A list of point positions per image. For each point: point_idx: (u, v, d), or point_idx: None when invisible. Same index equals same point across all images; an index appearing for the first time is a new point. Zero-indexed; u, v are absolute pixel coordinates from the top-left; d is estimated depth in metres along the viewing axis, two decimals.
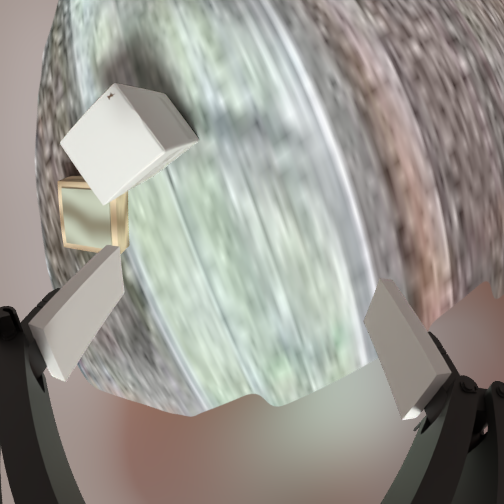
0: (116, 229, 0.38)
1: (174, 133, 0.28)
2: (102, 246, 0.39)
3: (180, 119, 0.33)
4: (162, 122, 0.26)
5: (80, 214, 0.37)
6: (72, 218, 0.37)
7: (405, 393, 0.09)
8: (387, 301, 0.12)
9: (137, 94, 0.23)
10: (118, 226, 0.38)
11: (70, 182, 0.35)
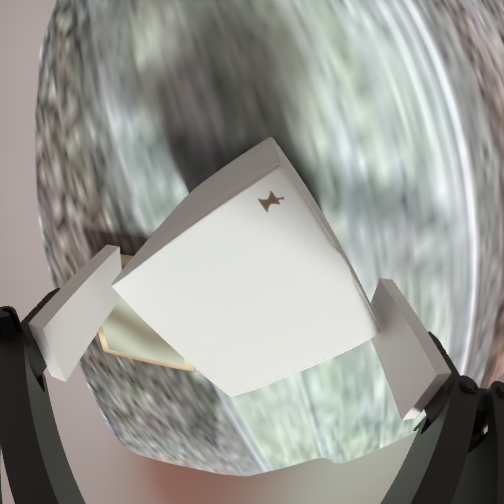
0: None
1: None
2: (168, 361, 0.28)
3: None
4: None
5: (130, 321, 0.26)
6: (116, 323, 0.26)
7: (405, 393, 0.09)
8: (387, 301, 0.12)
9: (297, 177, 0.12)
10: None
11: None
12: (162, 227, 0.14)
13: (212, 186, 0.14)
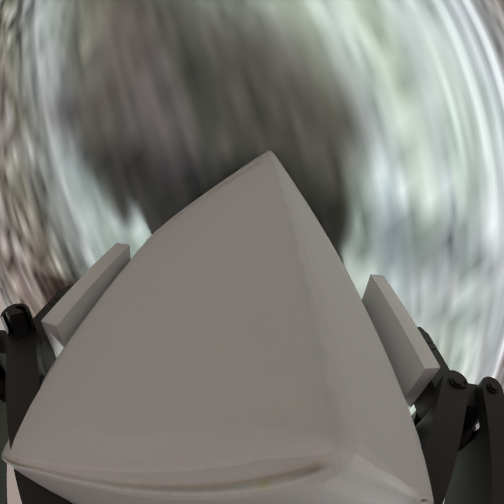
0: None
1: None
2: None
3: (330, 241, 0.14)
4: (390, 365, 0.07)
5: None
6: None
7: None
8: (378, 296, 0.12)
9: (343, 289, 0.05)
10: None
11: None
12: (63, 357, 0.06)
13: (140, 287, 0.06)
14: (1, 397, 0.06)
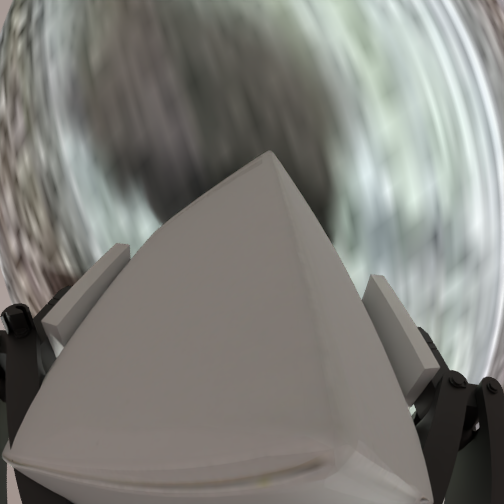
0: None
1: None
2: None
3: None
4: (390, 365, 0.07)
5: None
6: None
7: None
8: (378, 297, 0.12)
9: (342, 289, 0.05)
10: None
11: None
12: (63, 356, 0.06)
13: (140, 286, 0.06)
14: (1, 397, 0.06)
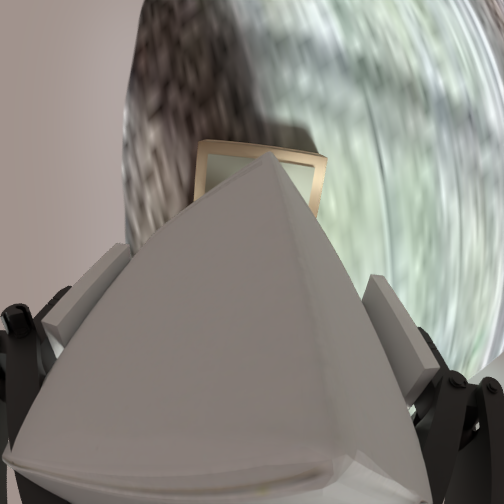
0: None
1: None
2: None
3: None
4: (390, 367, 0.07)
5: None
6: None
7: None
8: (378, 296, 0.12)
9: (342, 292, 0.05)
10: None
11: (229, 145, 0.23)
12: (63, 358, 0.06)
13: (139, 289, 0.06)
14: (1, 397, 0.06)
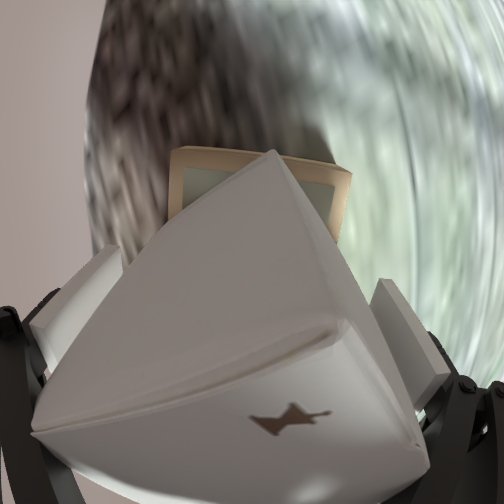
0: None
1: None
2: None
3: None
4: None
5: None
6: None
7: None
8: (387, 301, 0.12)
9: (339, 259, 0.06)
10: None
11: (214, 155, 0.16)
12: (87, 331, 0.07)
13: (164, 263, 0.07)
14: None
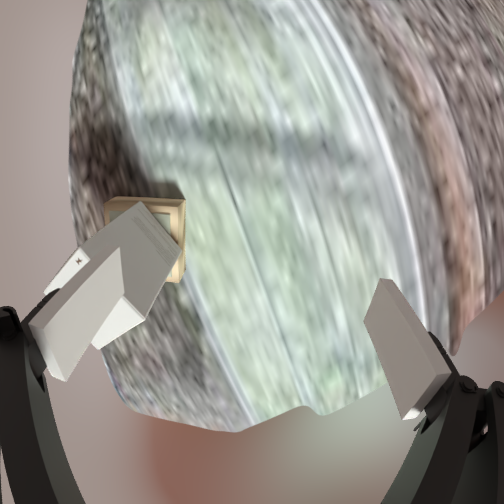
0: None
1: (153, 274, 0.28)
2: None
3: (159, 236, 0.34)
4: (138, 269, 0.27)
5: None
6: None
7: (405, 393, 0.09)
8: (387, 301, 0.12)
9: (107, 243, 0.24)
10: None
11: (120, 204, 0.35)
12: None
13: None
14: None
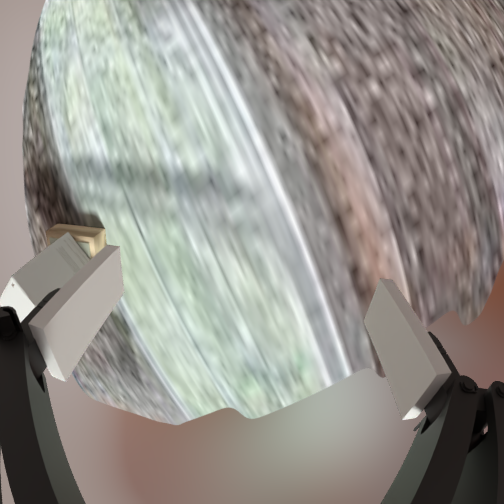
0: None
1: None
2: None
3: (79, 261, 0.39)
4: None
5: None
6: None
7: (405, 393, 0.09)
8: (387, 301, 0.12)
9: (32, 271, 0.29)
10: None
11: (56, 233, 0.40)
12: None
13: None
14: None
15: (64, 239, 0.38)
